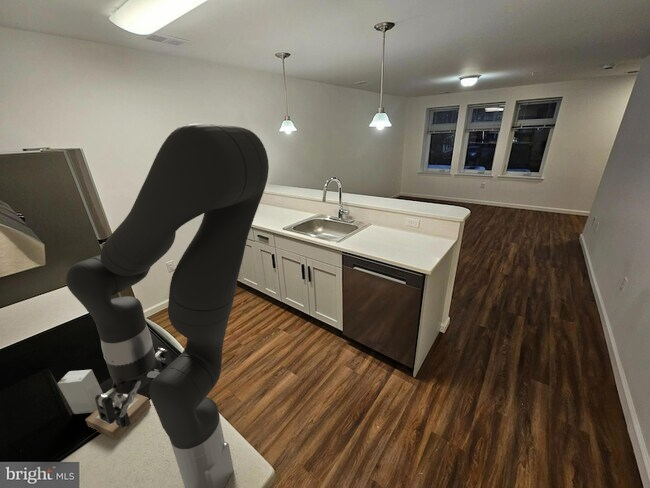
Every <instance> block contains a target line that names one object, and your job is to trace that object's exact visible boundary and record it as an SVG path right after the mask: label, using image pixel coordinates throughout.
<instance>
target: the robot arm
mask: <svg viewBox="0 0 650 488" xmlns="http://www.w3.org/2000/svg"><path fill="white" fill-rule="evenodd" d="M269 171H270V170H269V158H268V154H267V150H266V148H265V145H264V143H263V142H262V140H261V138H260V137H259V136H258V135H257V134H255V132H253V131H251V130H250V129H248V128H245V127H241V126H236V125H235V126H234V125H233V126H232V125H223V124H210V123H209V124H208V123H189V124H185V125H181V126H179V127H177V128H176V129H174V130H173V131H172V132H171V133H170V134H169V135H168V136H167V137H166V138H165V140H164V141H163V143H162V144H161V146H160V148H159V150H158V152H157V153H156V155H155V157H154V159H153V162H152V164H151V167H150V169H149V171H148V173H147V175H146V178H145V179H144V182H143V184H142V186H141V188H140V189H139V192H138V195H137V196H136V198H135V201H134V203H133V205H132V207H131V209H130V211H129V212H128V214H127V215H126V216H125V218H124V220H123V221H122V222H121V223H120V224H119V225H118V227H117V228H116V229H114V231H113V232H112V233H111V234H110V235H109V236H108V238H106V240H105V242H104V243H103V245H102V247H101V248H100V254H99V255H96V256H92V257H89V258H87V259H84V260H81V261H79V262H77V263H75V264H73V265H71V266H70V268H69V269H68V270H67V273H66V276H65V284H66V286H67V288H68V290H69V291H70V293H71V294H72V295H73V296H74V297H75V298H76V300H77V301H78V302H80V304H81V305H82V306H83V307H84V308H85V309H86V311H87V312H88V314H89V315H90V316H91V318H92V319H93V321H94V323H95V325H96V329H97V333H98V335H99V339H100V344H101V347H100V348H101V350H102V354H103V358H104V361H105V363H106V366H107V369H108V373H109V375H110V378H111V379H112V380H111V381H112V386H111V389H109V390H108V391H106V392H105V393H103V394H102V393H100V394H98V395H97V396H96V397H95V401H96V404H97V408H98V412H99V416H100V419H101V420H103V421H105V422H107V423H109V424H112V423H113V422H114V421H116V424H117V425H119V426H120V427H123V428H124V427H128V426H129V425H130V424H131V423H130V420H129V416H128V413H127V412H126V411H127V409H128V406H129V404H131V403H132V402H133V399H134V396H135V394H136V393H137V394H138V393H139V392H140V391H141V390H142V389H143V387H145V386H146V385H148V384H149V383H150V384H149V386H148V387H149V389H148V392H149V397H150V398H149V399H150V400H151V402H152V405H153V407H154V410H155V412H156V414H157V416H158V418H159V422H160V424H161V427H162V428H163V430H164V431H165V433H166V435H167V437H168V438H169V441H170V444H171V447H172V450H173V454H174V457H175V460H176V464H177V467H178V469H179V473H180V476H181V479H182V483H183V486H184V488H225V487H226V485H227V483H228V482H229V479H230V477H231V475H232V474H233V473H234V465H233V459H232V455H231V450H230V443H229V442H226V440H225V437H224V433H223V426H222V423H221V417H220V413H219V412H220V411H219V408H218V405H217V402H216V401H214V400H213V399H212V398H209V397H207V396H208V395H209V394H210V393H211V391H212V390H213V389H214V387H215V386H216V385H217V383H218V382H219V379H220V376H221V372H222V362H223V350H224V342H225V337H226V332H227V328H228V322H229V319H230V315H231V312H232V308H233V304H234V300H235V295H236V291H237V290H236V289H237V285H238V284H237V283H238V280H239V276H240V271H241V267H242V262H243V259H244V254H245V251H246V250H245V249H246V245H247V240H248V237H249V234H250V231H251V227H252V225H253V222H254V219H255V216H256V214H257V212H258V209H259V206H260V203H261V200H262V198H263V194H264V192H265V190H266V186H267V182H268V177H269ZM201 215H203V216H202V220H201V223H200V225H199V227H198V230H197V231H196V233H195V235H194V237H193V238H192V240H191V241H190V243H189V244H188V246H187V248H186V249H185V251H184V252H183V254H182V255H181V257H180V259H179V261H178V262H177V265H176V267H175V269H174V271H173V273H172V276H171V279H170V280H171V281H170V283H169V290H168V291H169V295H168V305H167V315H168V320H169V322H170V324H171V326H172V327H173V328H174V329H175V330H176V332H178V333H179V334H180V335H182V336H183V337H185V338H187V339H186V340H187V341H186V344H185V347H184V349H183V350H182V352H181V353H180V354H179V356H177V357H176V358H175V359H174V360H173V361H172V357H171V353H170V351H169V350H168V349H166V348H163V347H160V346H159V347H157V348H156V350H155V348H154V345H153V339H152V335H151V332H150V329H149V327H148V324H147V322H146V317H145V313H144V308H143V305H142V302H141V300H139V298H137V297H134V296H130V295H129V296H128V295H127V296H126V295H125V296H124V295H123V296H118V297H115V298H111V297H113V296H115V295H117V294H119V293H121V292H123V291H125V290H127V289H129V288H131V287H133V286H135V285H137V284H138V283H139V282H141V281H142V280H144V279H145V278H147V276H148V275H149V274H148V273H149V272H150V269H151V267H153V265H154V264H156V263H157V262H158V261H159V260H161V258H162V257H164V256H165V255H166V254H167V253H168V252H169V251H170V249H171V248H172V246H173V245H174V243H175V239H176V233H177V231H178V230H179V229H180V228H182V226H184V225H185V224H187V223H188V222H190V221H192V220H194V219H197V217H199V216H201ZM158 363H159V365H160V368H159V369H156V367H157V364H158ZM152 378H153V379H152ZM151 379H152V380H151ZM123 394H128V396H127V397H125V396H124V395H123ZM114 396H115V397H114ZM113 403H114V404H113ZM121 404H122V406H121V408H119V407H120V405H121Z"/></svg>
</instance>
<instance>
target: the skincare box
mask: <svg viewBox="0 0 650 488" xmlns="http://www.w3.org/2000/svg"><path fill="white" fill-rule="evenodd" d="M57 386H58V388H59V389H60V391H61V393H62V394H63V397H64V398H65V400H66V402H67V404H68V406H69V407H70V409H71V411H72V412H73V414H74V415H76V414H77V415H79V414H88V413H89V414H90V413H91V414H92V413H94V412H95V411H96V410H97V409H98V408H97V404H96V401H95V397H96V396H97V395H98V394H100V393H102V394H104V392H103V390H102V388H101V386H100V384H99V382H98V379H97V378H96V376H95V374H94V371H93V369H84V370H82V369H81V370H71V371H70V370H69V371H68V372H67V373H66V374H65V375H64V376H63V377H62V378H60V380H59V381H58V382H57Z"/></svg>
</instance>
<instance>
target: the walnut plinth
mask: <svg viewBox="0 0 650 488" xmlns="http://www.w3.org/2000/svg"><path fill="white" fill-rule="evenodd" d="M123 395H124V396H125V397H127V396H128V394H123ZM114 397H115V396H114ZM113 404H114V403H113ZM121 406H122V404H121V405H120V407H119V408H121ZM151 406H152V404H151V402H150V398H149V397H147V396H144V395H142V394H139V393H138V392H137V393H136V394H135V396H134V399H133V402H132V403H131V404H129V406H128V409H127V411H126V412H127V413H128V416H129V420H130V423H131V424H130V425H129V426H128V427H124V428H123V427H120V426H119V425H117V424H116V421H114V422H113V423H112V424H109V423H107V422H105V421H103V420H101V419H100V416H99V412H98V409H97V410H96V411H95V412H92V413H91V414H90V415H89V416H88V417H86V418H85V419H84V420H85V422H86V425H87V427H88V428H89V427H91V428H93V429H96V430H97V431H96V432H98V433H99V434H102V435H104V436H106V437H109V438H110V439H113V440H114V441H116V440H118V439H119V438H120V436H121V435H123V433H125V431H127V430H128V429H129V428H130V427H131V426H132V425H133V424H134V423H135V422H136V421H137V420H138V419H139V418H140V416H142V415H143V414H144V413H145V412H146V411H147V410H148V409H149V408H150V407H151ZM91 428H90V429H91ZM93 429H92V430H93Z"/></svg>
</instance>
